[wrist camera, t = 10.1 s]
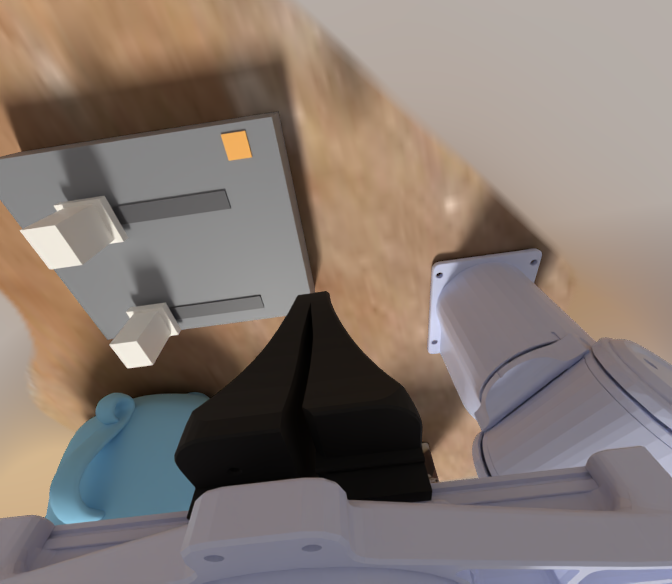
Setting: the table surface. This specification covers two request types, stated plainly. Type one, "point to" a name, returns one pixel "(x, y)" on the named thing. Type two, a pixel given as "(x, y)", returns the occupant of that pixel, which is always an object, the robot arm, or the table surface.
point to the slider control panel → (177, 220)
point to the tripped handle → (75, 232)
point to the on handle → (144, 334)
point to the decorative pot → (125, 461)
